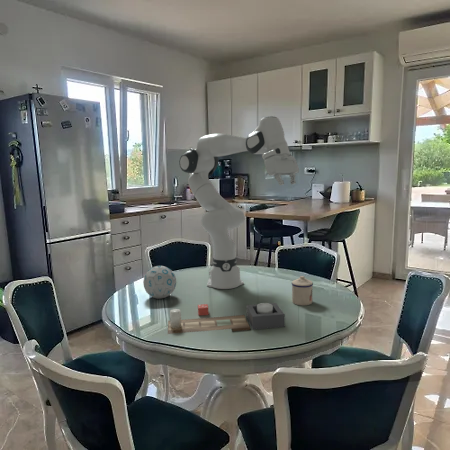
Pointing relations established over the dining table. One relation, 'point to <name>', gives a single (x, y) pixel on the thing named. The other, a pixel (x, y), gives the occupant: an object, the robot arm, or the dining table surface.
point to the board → (211, 324)
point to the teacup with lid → (302, 291)
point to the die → (203, 309)
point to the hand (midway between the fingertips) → (287, 184)
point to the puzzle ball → (159, 282)
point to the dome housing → (265, 317)
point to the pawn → (175, 318)
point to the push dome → (264, 308)
